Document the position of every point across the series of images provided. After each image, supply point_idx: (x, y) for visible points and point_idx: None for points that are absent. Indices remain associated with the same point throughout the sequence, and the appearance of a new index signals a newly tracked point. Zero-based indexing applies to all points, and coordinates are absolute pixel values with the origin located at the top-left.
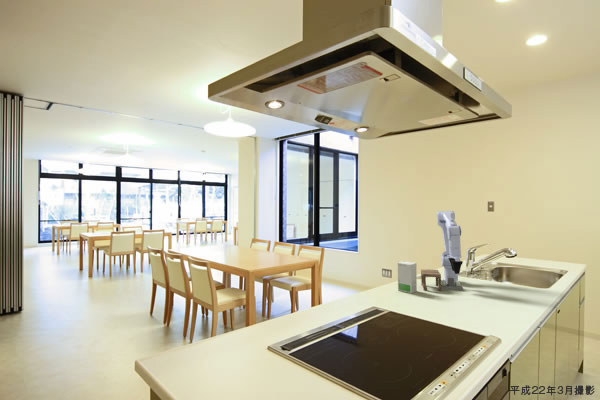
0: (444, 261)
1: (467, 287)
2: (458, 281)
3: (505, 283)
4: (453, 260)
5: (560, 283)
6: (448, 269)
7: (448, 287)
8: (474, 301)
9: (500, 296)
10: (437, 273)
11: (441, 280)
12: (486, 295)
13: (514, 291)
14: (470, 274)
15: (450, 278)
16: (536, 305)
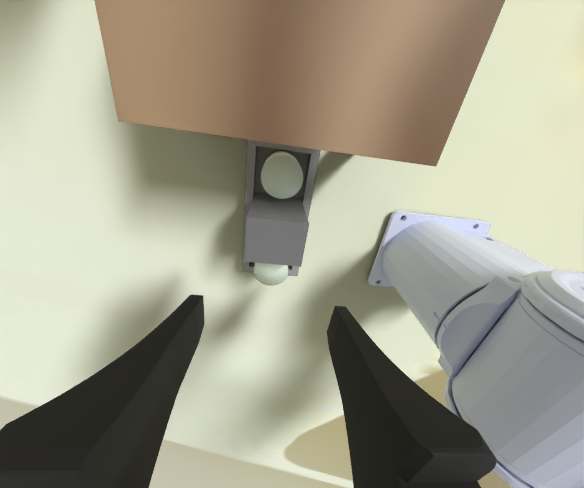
0: (570, 333)
1: (301, 294)
2: (260, 275)
3: None
4: (374, 446)
5: (335, 478)
6: (455, 291)
7: (245, 191)
8: (15, 251)
9: None
10: (180, 84)
11: (291, 160)
12: None
13: (245, 403)
14: None
15: (246, 235)
16: None
